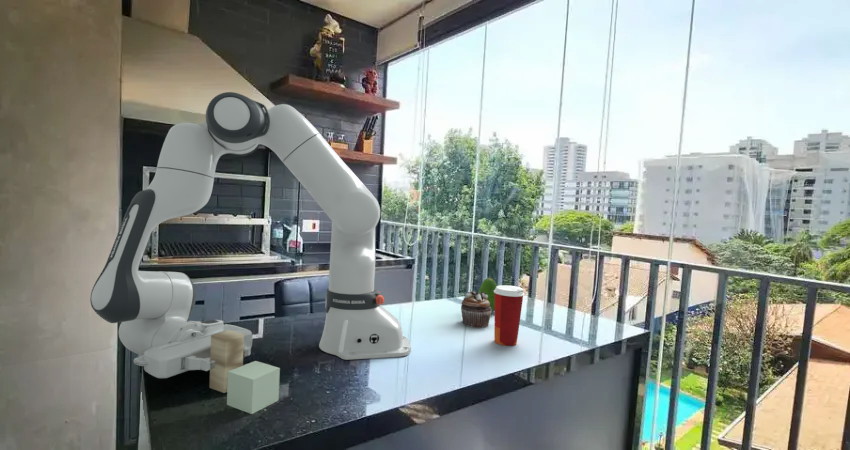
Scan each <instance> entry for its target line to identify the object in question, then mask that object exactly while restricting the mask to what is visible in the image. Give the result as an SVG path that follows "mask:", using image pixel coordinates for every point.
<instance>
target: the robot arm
mask: <svg viewBox="0 0 850 450" xmlns="http://www.w3.org/2000/svg"><path fill="white" fill-rule="evenodd" d="M260 145H262V146H265V147H267V148H269V150H271V151H272V152H274V154H275V155H276V156H277V157H278V158H279V160H280V161H281V162H282V163H283V165H284V166H285V167H286V168H287V169H288V170H289V171H290V172H291V173H292V175H293V176H294V177H295V178H296V179H297V180H298V182H299V183H300V184H301V185H302V186H303V188H304V189H305V190H306V191H307V192H308V194H309V195H310V196H311V197H312V198H313V200H314V201H315V202H316V204H317V205H318V206H319V207H320V208H321V210H322V211H323V212H324V213H325V214H326V216H327V217H328V218H329V219H330V221H331V231H330V232H331V234H330V252H329V253H330V254H329V273H328V275H329V276H328V288H326V289H327V290H326V293H325V308H324V309H325V313H326V314H325V322H324V327H323V331H322V335H321V338H320V341H319V344H318V348H319V349H320V350H321V351H323V352H325V353H326V354H330V355H334V356H337V357H338V358H341V359H342V360H345V361H346V360H347V361H348V360H363V359H365V360H366V359H379V358H381V359H382V358H396V357H399V358H400V357H405V356H408V355H409V354H410V352H411V348H412V347H411V342H410V340H409V339H408V338H407V337H406V336H405V335H403V331H402V325H401V322H400V321H399V319H398V318H397V317H396V316H395V315H393V314H392V313H391V312H390V311H389V310H387V309H386V308H385V307H383V306H382V305H383V304H384V303H385V297H384V296H383V295H382V293H381V292H380V290H379V291H378V290H376V289H375V279H376V278H375V277H376V275H375V274H376V227H377V226H378V224H379V221H380V219H381V207H380V204H379V201H378V199H377V198H376V197H375V196H374V195H373V193H372V192H371V191H370V190H369V189H368V187H366V185H365V184H364V183H363V182H362V180H361V179H359V177H358V176H357V175H356V174H355V173H354V172H353V170H352V169H351V168H350V167H349V166H348V165H347V164H346V163H345V162H344V161H343V159H342V158H341V157H340V156H339V155H338V153H337V152H336V151H335V149H334V148H332V146H331V145H330V144H329V142H328V141H327V140H326V139H325V137H324V136H323V135H322V134H321V133H320V132H319V131H318V129H317V128H316V127H315V126H314V124H312V123H311V121H309V120H308V119H307V118H306V117H305V116H304V115H303V114H302V113H301V112H299V110H297V109H296V108H295V107H293V106H292V105H290V104H286V103H282V104H277V105H274V106H272V107H270V108H269V109H268V107H267V106H266V105H265V104H264V103H261V102H259V101H256V100H254V99H252V98H250V97H248V96H246V95H243V94H241V93H238V92H233V91H228V92H222V93H219V94H218V95H215V96H214V97H212V99H211V100H210V101H209V103H208V105H207V107H206V111H205V122H203V123H194V122H181V123H180V122H179V123H177V124H174V125H173V126H172V127H171V128H170V129H168V133H167V134H166V136H165V139H164V141H163V144H162V147H161V149H160V153H159V157H158V160H157V165H156V171H155V175H154V177H153V179H152V181H151V182H150V184H149V185H148V186H147V187H146V188H145V189H143V190H140V191H138V192H137V193H136V194H135V195H134V196H133V198H132V199H131V202H130V204H129V205H128V207H127V210H126V211H125V214H124V217H123V220H122V222H121V223H120V228H119V230H118V232H117V234H116V238H115V239H114V242H113V245H112V247H111V250H110V253H109V255H108V257H107V261H106V262H105V265H104V267H103V269H102V270H101V272H100V273H99V276H98V278H97V279H96V281H95V283H94V285H93V287H92V289H91V292H90V306H91V308H92V309H93V310H94V312H95V313H96V315H98V316H99V317H100V318H101V319H103V320H104V321H106V322H108V323H110V324H115V323H116V324H117V323H120V325H119V328H118V338H119V340H120V342H121V343H122V345H123V346H124V347H125V348H126V349H128V350H129V351H130V352H132V353H135V354H136V355H137V356H136V357H135V358H133V364H134V365H137V366H140V367H143V370H144V371H145V372H146V373H148V375H151V376H152V377H154V378H157V379H168V378H170V377H171V378H172V377H174V376H177V375H179V374H182V373H185V372H188V371H197V370H198V371H205V372H208V371H210V370H211V369H213V368H215V365H214V364H215V360H214V359H211V358H210V354H211V335H214V334H217V333H220V332H224V331H227V330H231V331H235V332H239V333H243V334H244V347H243V358H246V357H248V356H250V355H251V352H252V351H251V350H252V346H253V332H252V331H251V330H250V329H248V328H245V327H241V326H238V325H232V324H229V323H228V324H227V323H225V324H224V321H223V320H221V319H211V320H209V319H208V320H201V321H199V320H198V321H197V320H190V318H191V315H192V314H193V311H194V309H195V305H196V301H197V290H196V286H195V284H194V283H193V280H192V279H191V278H190V277H189V276H188V274H186V273H184V272H181V271H180V272H179V271H178V272H177V271H165V270H164V271H160V270H159V271H154V270H153V271H150V270H149V271H148V270H147V271H146V270H139V267H140V264H141V262H142V259H143V255H144V253H145V250H146V248H147V245H148V242H149V239H150V236H151V234H152V232H153V230H154V229H155V228H156V227H157V226H158V225H161V223H163V222H165V221H168V220H172V219H175V218H176V219H177V218H181V217H185V216H188V215H192V214H194V213H196V212H198V211H200V210H201V209H203V208H204V207H205V206H206V205H207V204H208V202H209V200H210V198H211V195H212V192H213V187H214V182H215V175H216V170H217V169H216V168H217V164H218V162H219V159H220V158H221V159H222V158H223V159H225V158H234V157H238V158H239V157H245V156H248V155H250V154H253V153H254V152H256V150H258V148H259V147H260Z"/></svg>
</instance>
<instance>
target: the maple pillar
mask: <svg viewBox="0 0 850 450" xmlns="http://www.w3.org/2000/svg"><path fill="white" fill-rule="evenodd" d="M243 347H244V334H243V333H239V332H235V331H231V330H227V331H224V332H220V333H217V334H214V335H211V354H210V358H211V359H214V360H215V364H214V365H215V368H213V369H211V370H209V385H208V386H209V387H208V388H209V389H212V390H215V391H217V392H220V393H223V394H225V393H227V387H228V371H230V370H233V369H235V368H238V367H241V366H243V365H244V357H243Z"/></svg>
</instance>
